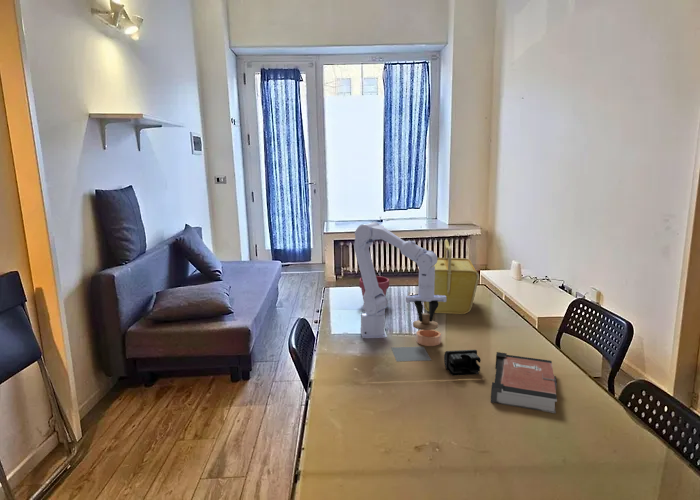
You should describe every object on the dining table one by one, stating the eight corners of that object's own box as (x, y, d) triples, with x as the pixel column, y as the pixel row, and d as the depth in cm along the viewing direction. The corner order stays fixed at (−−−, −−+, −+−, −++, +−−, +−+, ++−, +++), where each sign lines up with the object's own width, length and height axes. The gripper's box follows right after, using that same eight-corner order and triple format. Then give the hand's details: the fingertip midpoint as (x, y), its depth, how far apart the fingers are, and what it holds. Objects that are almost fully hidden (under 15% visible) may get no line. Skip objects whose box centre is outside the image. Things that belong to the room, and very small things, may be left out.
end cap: (472, 365, 152) (473, 346, 150) (481, 375, 145) (482, 355, 144) (443, 367, 151) (444, 348, 149) (450, 377, 144) (451, 356, 142)
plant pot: (389, 309, 211) (390, 282, 209) (359, 309, 211) (359, 282, 209) (387, 300, 225) (388, 275, 223) (359, 300, 225) (359, 275, 223)
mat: (396, 362, 154) (396, 361, 154) (391, 348, 166) (391, 347, 166) (431, 361, 155) (431, 360, 155) (423, 347, 167) (423, 346, 167)
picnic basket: (418, 296, 233) (419, 238, 228) (469, 297, 230) (472, 239, 224) (418, 314, 205) (420, 248, 199) (477, 316, 201) (481, 249, 196)
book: (558, 415, 122) (560, 398, 121) (490, 403, 128) (491, 387, 127) (552, 374, 146) (554, 359, 145) (495, 366, 152) (496, 352, 152)
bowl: (419, 347, 167) (419, 338, 167) (414, 338, 176) (414, 329, 175) (443, 346, 168) (443, 337, 167) (437, 337, 177) (437, 328, 176)
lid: (414, 329, 163) (414, 317, 163) (411, 322, 172) (411, 310, 171) (439, 330, 163) (440, 317, 162) (435, 322, 172) (435, 310, 171)
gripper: (408, 288, 161) (407, 324, 163) (449, 287, 162) (447, 323, 164) (405, 282, 168) (404, 318, 170) (444, 282, 168) (442, 317, 171)
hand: (425, 320), depth 168 cm, fingers closed on lid, 3 cm apart
